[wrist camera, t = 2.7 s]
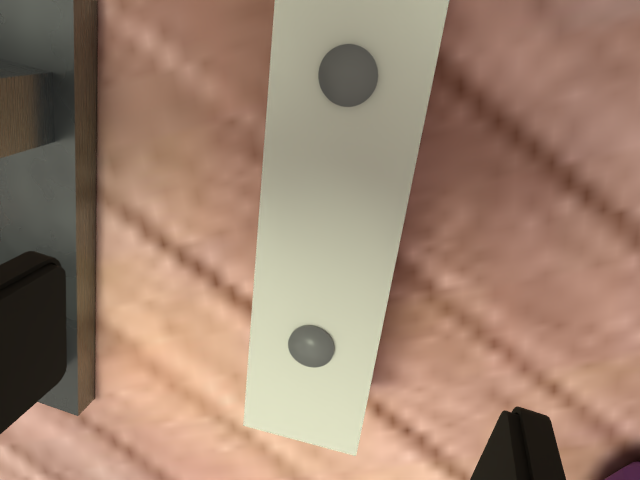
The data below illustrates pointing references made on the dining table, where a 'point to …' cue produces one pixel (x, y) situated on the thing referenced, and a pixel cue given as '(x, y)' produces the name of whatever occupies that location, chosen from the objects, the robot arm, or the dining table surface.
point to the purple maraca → (627, 473)
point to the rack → (53, 163)
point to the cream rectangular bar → (333, 206)
